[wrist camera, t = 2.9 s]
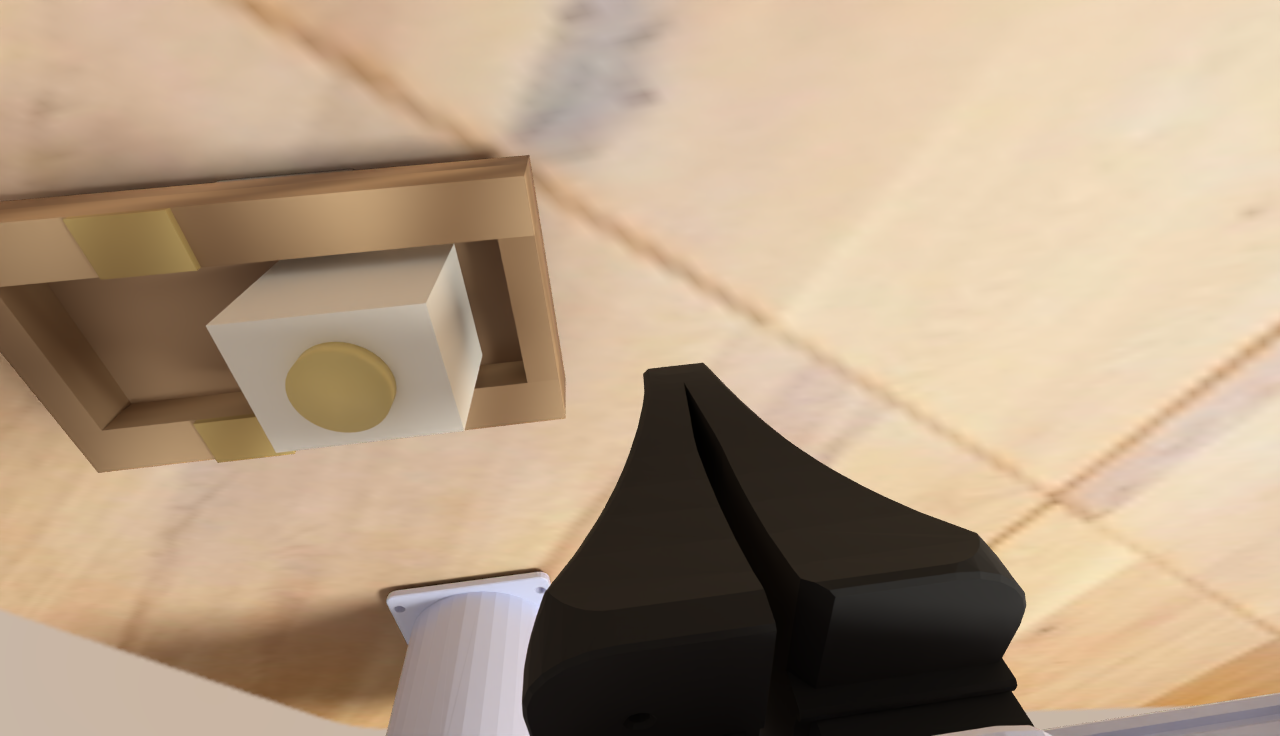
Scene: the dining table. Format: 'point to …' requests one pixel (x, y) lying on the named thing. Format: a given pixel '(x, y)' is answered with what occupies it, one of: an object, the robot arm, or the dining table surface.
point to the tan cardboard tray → (227, 266)
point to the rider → (354, 347)
